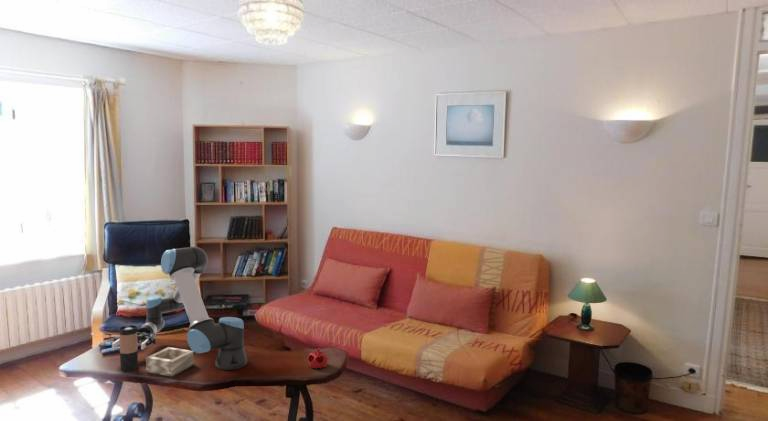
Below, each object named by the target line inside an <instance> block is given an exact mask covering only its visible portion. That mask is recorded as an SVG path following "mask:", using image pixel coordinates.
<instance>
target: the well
mask: <svg viewBox="0 0 768 421" xmlns="http://www.w3.org/2000/svg"><path fill="white" fill-rule="evenodd" d="M194 353H195V352H194V351H192V349H190V350H189V349H184V348H177V347H171V346H167V347H165V348H163V349H161V350H159V351H157V352H155V353H152V354H150V355H148V356H146V357H145V372H146V373H151V374H157V375H161V376H167V377H174V376H176V375H178V374H179V373H182V372H183V371H185V370H187V369H189V368H191V367H192V366H194V362H195V361H194V357H195V355H194Z"/></svg>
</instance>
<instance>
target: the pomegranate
mask: <svg viewBox="0 0 768 421" xmlns="http://www.w3.org/2000/svg"><path fill="white" fill-rule="evenodd" d="M307 362H308V365H309V367H310V368H312V369H317V368H320V369H323V368H322V367H324V368H325V367H326V366H327V364H328V362H329V357H328V355H327V354H326V352H325V349H324V350H321V348H320V347H319V348H318V349H316V350H313V351H312V352H310V353H309V354H308V356H307Z"/></svg>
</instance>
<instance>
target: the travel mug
mask: <svg viewBox="0 0 768 421" xmlns="http://www.w3.org/2000/svg"><path fill="white" fill-rule="evenodd" d="M137 330H138V326H137V325H134V324H133V325H131V324H130V325H129V326H121V327H120V328H119V336H120V345H119V359H120V360H119V361H120V370H121V371H122V372H130V371H131V372H132V371H134V370H136V369H137V368H138V365H139V364H138V356H139V355H138V353H139V352H138V351H139V350H138V349H139V348H138V345H139V344H138V342H139V340H138V341H137Z"/></svg>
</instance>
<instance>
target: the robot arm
mask: <svg viewBox="0 0 768 421" xmlns="http://www.w3.org/2000/svg"><path fill="white" fill-rule="evenodd" d="M208 264H209V258H208V255H207V253H206V251H205V250H203V248H200V247H198V246H189V247H188V246H187V247H180V248H172V249H166V250H165V251H164V252H163V254H162V256H161V261H160V267H161V272H163V274H164V275H169V278H170V279H171V280H172V281H174V282H175V285H176V288H175V290H174V293H173V294H172V296H171V297H167V298H162V297H161V296H159V295H158V296H157V295H155V296H149V297H148V298H147V299H146V303H145V304H146V306H145V309H146V322H145V323H144V324H142V326H140V327H139V328H137V341H138V342H139V341H141V342H142V343H140V350H143V351H144V349H145V348H146V347H148V346H150V345H156V343H157V339H156V338H157V337H156V336H157V335H156V334H158V333H159V332H161V331H162V330H163V328H164V327H165V325H166V324H165V322H166V321H165V319H164V318H163V314H165V313H170V312H174V311H180V310H183V309H185V313H186V315H187V318H188V321H189V323H190V324H189V327H188V331H187V333H186V338H187V339H186V341H187V346H188V347H189V349H190V350H191V351H194V353H196V354H203V353H209V352H210V351H213V350H216V349H218V353H217V356H216V358H215V367H216V368H217V369H219V370H225V371H229V370H231V371H232V370H237V369H241V368H243V367H245V366H246V365H247V364H248V356H247V354H246V351H245V348H244V344H245V342H244V339H245V338H244V337H245V336H244V334H245V332H244V329H245V326H244V325H245V324H244V320H243V319H241V318H239V317H234V316H224V317H219V319H218V323H215V321H214V318H212V317H210V316H209V314H208V312H207V309H206V306H205V304H204V301H203V299H202V295H201V293H200V290H199V287H198V285H197V282H198V280H199V278H200V276H201V274H203V273H204V272H206V270H207V268H208ZM117 347H120V335H118V336H116V337H114V338H113V342H112V343H111V350H115V349H116V348H117Z"/></svg>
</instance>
